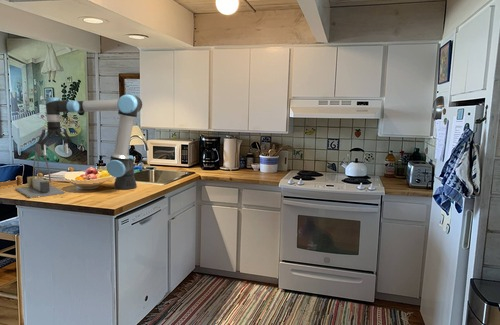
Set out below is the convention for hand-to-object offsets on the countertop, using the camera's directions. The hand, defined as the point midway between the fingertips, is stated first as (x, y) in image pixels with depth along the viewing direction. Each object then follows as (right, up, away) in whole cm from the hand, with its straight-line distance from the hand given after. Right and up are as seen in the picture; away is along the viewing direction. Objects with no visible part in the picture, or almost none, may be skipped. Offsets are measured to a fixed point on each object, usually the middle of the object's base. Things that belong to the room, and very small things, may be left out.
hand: (56, 154), depth 234 cm
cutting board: (-9, -24, -2) cm, 26 cm away
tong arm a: (-6, -23, -3) cm, 24 cm away
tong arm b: (-8, -23, -5) cm, 25 cm away
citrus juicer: (-25, -21, +23) cm, 39 cm away
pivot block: (-17, -22, +5) cm, 28 cm away
